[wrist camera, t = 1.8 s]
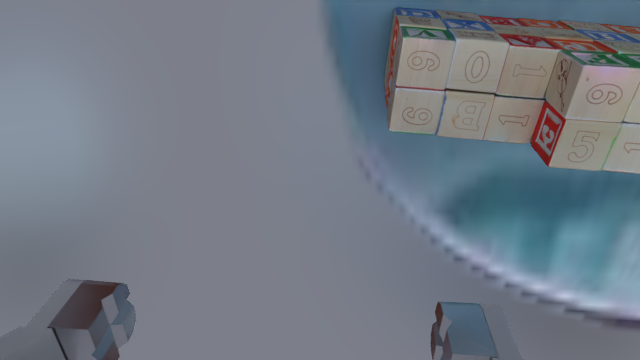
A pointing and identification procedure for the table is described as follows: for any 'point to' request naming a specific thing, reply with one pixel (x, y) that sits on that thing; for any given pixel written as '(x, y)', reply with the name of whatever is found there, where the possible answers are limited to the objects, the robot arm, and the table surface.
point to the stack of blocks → (518, 85)
